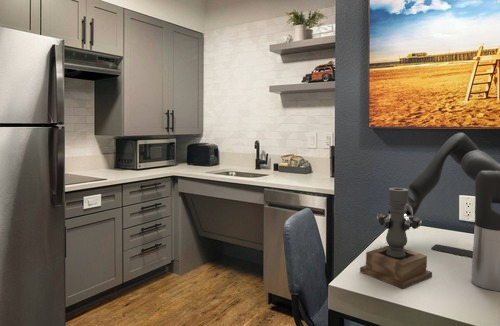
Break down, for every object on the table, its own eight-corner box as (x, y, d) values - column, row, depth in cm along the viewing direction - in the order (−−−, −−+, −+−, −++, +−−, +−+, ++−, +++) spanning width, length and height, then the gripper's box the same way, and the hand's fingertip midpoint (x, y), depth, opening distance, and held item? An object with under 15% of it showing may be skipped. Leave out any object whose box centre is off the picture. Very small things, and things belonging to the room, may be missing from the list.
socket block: (431, 276, 114) (433, 256, 113) (402, 289, 105) (403, 266, 105) (389, 261, 126) (389, 243, 125) (360, 271, 118) (360, 251, 117)
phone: (435, 243, 144) (480, 252, 134) (435, 246, 144) (480, 254, 134) (430, 248, 138) (476, 257, 128) (430, 250, 138) (476, 260, 128)
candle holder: (402, 265, 118) (405, 187, 116) (408, 272, 112) (412, 191, 110) (382, 264, 119) (385, 187, 117) (387, 272, 113) (390, 190, 110)
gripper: (378, 201, 130) (372, 212, 114) (424, 205, 123) (423, 216, 108) (378, 222, 130) (371, 235, 115) (423, 227, 124) (422, 242, 109)
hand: (396, 226), depth 112 cm, fingers open, 4 cm apart
